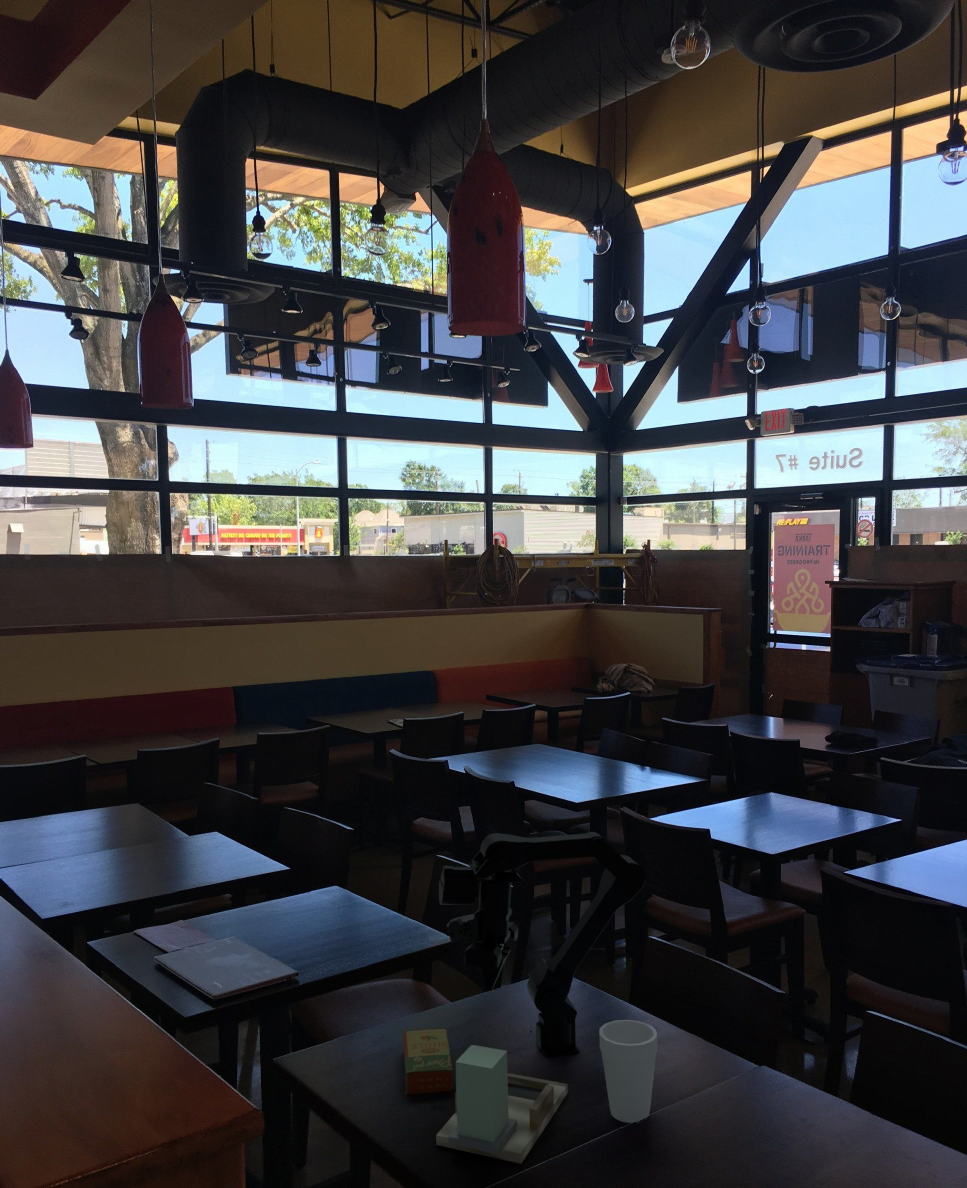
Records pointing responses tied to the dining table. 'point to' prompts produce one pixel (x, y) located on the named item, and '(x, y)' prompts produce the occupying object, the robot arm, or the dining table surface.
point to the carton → (427, 1061)
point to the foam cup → (629, 1067)
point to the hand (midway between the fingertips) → (489, 989)
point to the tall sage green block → (482, 1100)
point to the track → (518, 1116)
